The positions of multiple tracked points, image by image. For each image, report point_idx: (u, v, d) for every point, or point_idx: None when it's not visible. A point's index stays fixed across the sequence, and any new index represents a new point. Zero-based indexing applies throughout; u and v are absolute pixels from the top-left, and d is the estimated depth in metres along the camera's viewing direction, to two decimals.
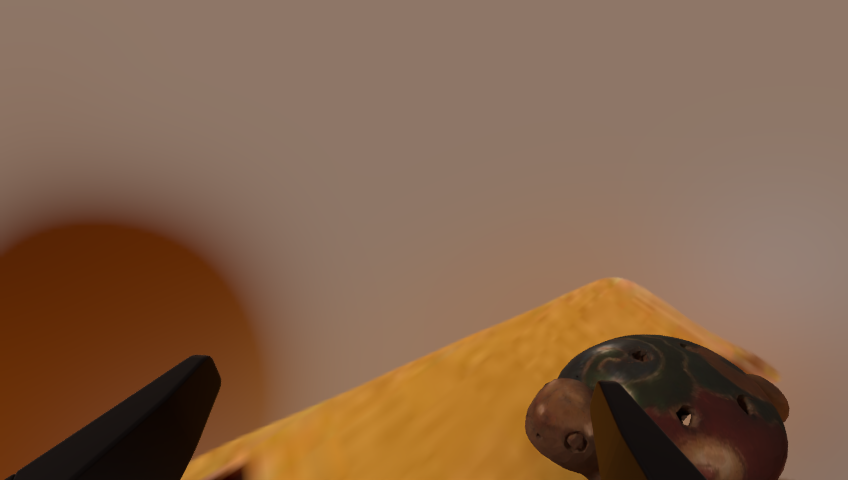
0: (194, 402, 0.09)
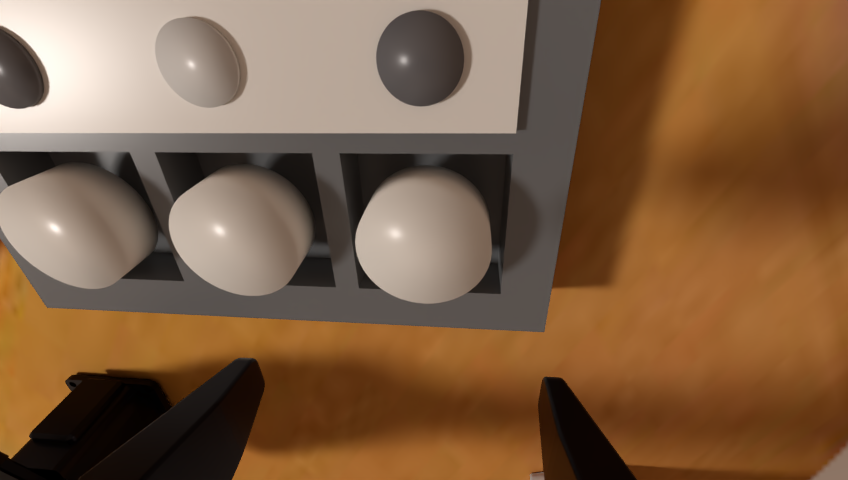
0: (242, 406, 0.09)
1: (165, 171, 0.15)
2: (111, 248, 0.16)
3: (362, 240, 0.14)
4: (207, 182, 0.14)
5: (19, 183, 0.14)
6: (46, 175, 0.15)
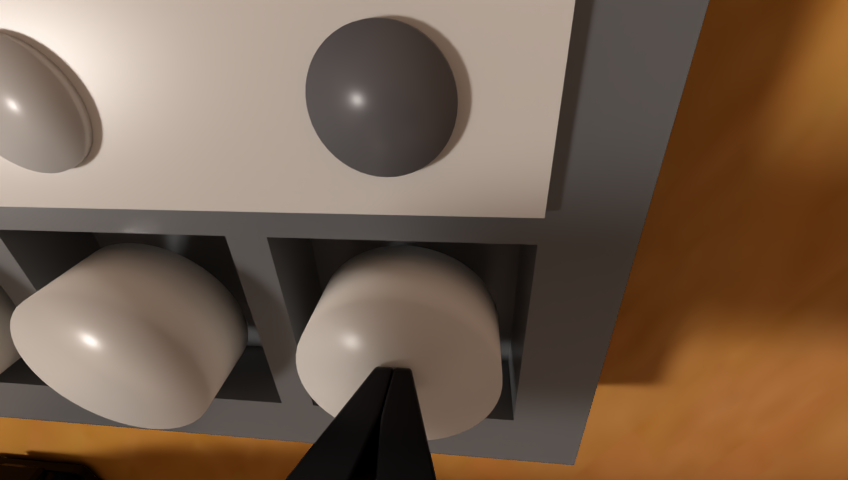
0: None
1: (19, 253, 0.10)
2: None
3: (306, 362, 0.09)
4: (59, 285, 0.09)
5: None
6: None
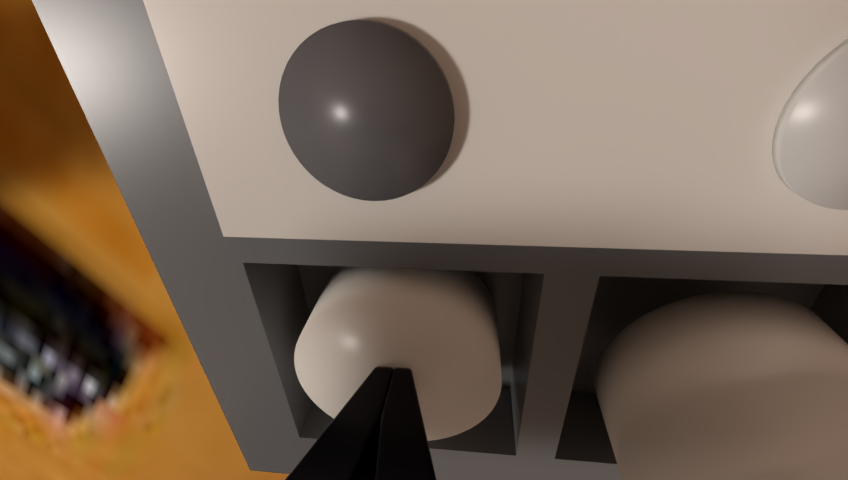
0: None
1: (589, 303, 0.08)
2: (480, 394, 0.09)
3: None
4: (777, 359, 0.07)
5: (367, 299, 0.08)
6: (397, 280, 0.09)
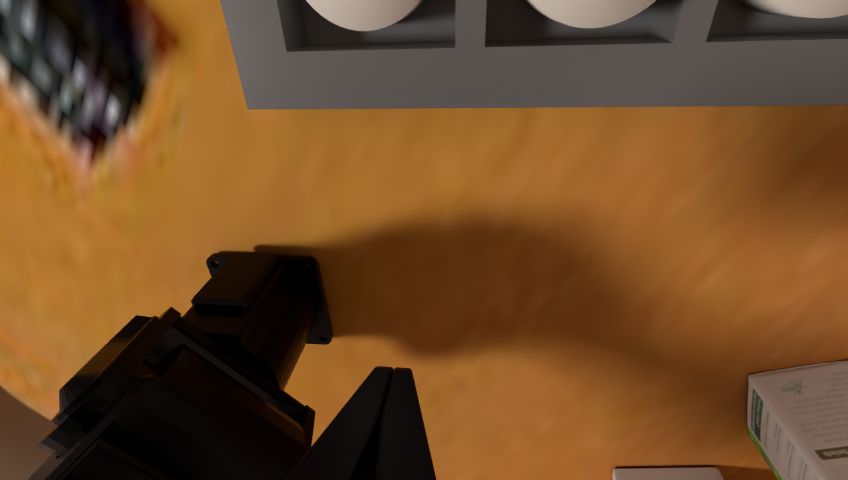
0: None
1: None
2: None
3: None
4: None
5: None
6: None
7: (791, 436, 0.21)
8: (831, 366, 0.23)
